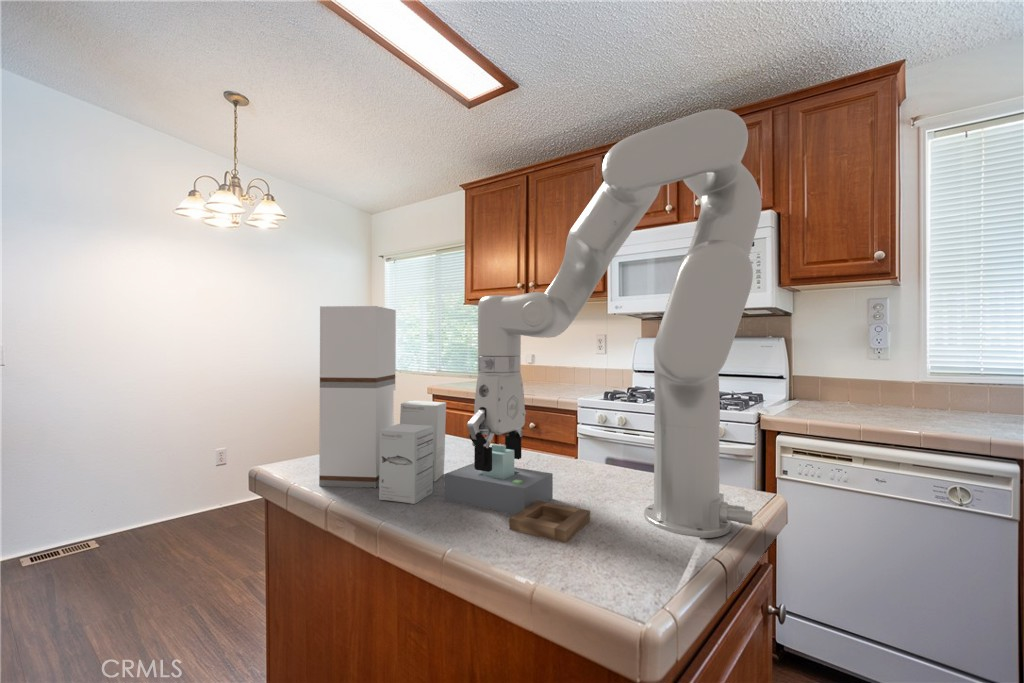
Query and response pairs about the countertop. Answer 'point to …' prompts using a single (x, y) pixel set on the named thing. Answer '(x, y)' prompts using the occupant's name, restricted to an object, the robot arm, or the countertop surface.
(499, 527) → the countertop surface
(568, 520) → the square wooden tray
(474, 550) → the countertop surface
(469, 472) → the panel
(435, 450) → the skincare box
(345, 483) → the white striped tall box
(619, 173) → the robot arm
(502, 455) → the plug
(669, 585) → the countertop surface
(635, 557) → the countertop surface
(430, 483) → the supplement box
